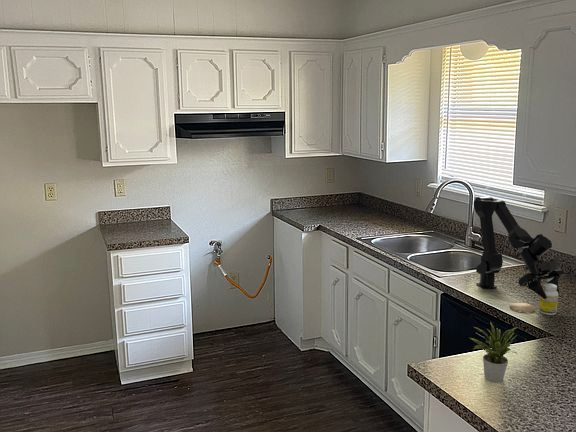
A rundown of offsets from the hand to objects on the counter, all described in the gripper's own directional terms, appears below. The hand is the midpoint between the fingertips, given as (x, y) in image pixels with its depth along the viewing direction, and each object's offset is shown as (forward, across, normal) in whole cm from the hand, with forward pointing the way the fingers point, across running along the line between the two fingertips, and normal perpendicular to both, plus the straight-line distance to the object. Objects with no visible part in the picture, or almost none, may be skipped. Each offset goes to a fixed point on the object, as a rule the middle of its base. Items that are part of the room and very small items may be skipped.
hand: (552, 297), depth 223 cm
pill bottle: (+4, 0, +6) cm, 7 cm away
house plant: (+27, -56, -18) cm, 64 cm away
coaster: (-1, -6, +11) cm, 12 cm away
